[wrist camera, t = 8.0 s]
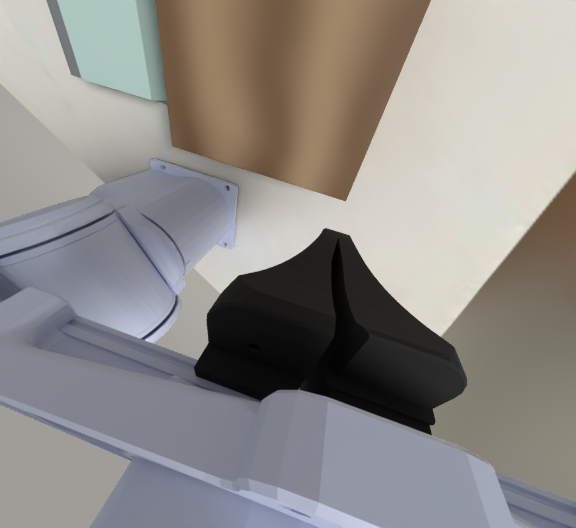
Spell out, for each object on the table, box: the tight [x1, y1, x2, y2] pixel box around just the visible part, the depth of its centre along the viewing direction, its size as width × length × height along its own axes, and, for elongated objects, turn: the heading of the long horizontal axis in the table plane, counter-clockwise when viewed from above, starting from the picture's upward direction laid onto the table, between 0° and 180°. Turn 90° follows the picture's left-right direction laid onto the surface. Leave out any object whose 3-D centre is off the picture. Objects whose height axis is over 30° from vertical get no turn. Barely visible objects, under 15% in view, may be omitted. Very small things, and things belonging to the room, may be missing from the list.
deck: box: [155, 0, 431, 201], centre depth 13 cm, size 14×14×4 cm
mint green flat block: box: [57, 0, 167, 101], centre depth 14 cm, size 6×9×2 cm, turn 168°
